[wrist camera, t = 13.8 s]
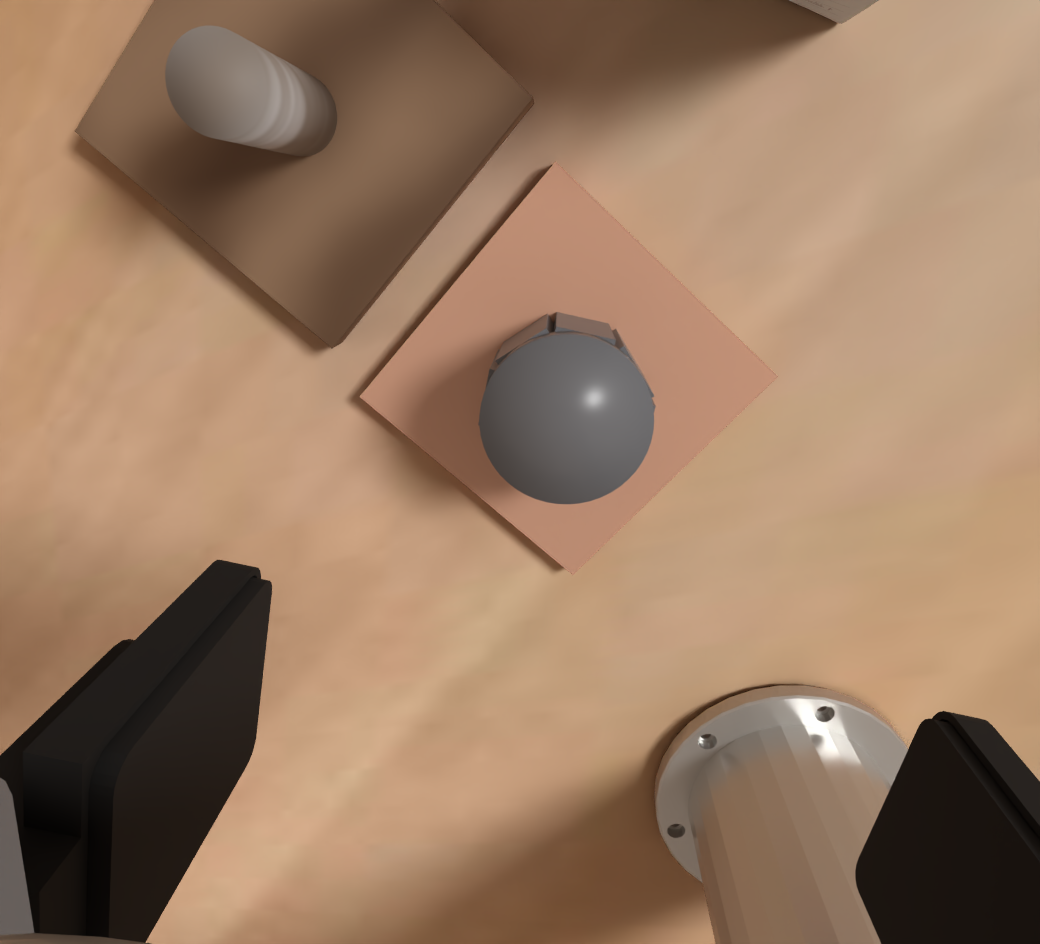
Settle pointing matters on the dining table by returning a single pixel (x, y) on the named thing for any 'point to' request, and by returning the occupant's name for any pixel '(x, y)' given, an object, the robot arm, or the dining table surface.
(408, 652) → the dining table surface
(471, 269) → the tile
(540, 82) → the dining table surface
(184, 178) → the post base
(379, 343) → the dining table surface
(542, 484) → the cap
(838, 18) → the supplement box
